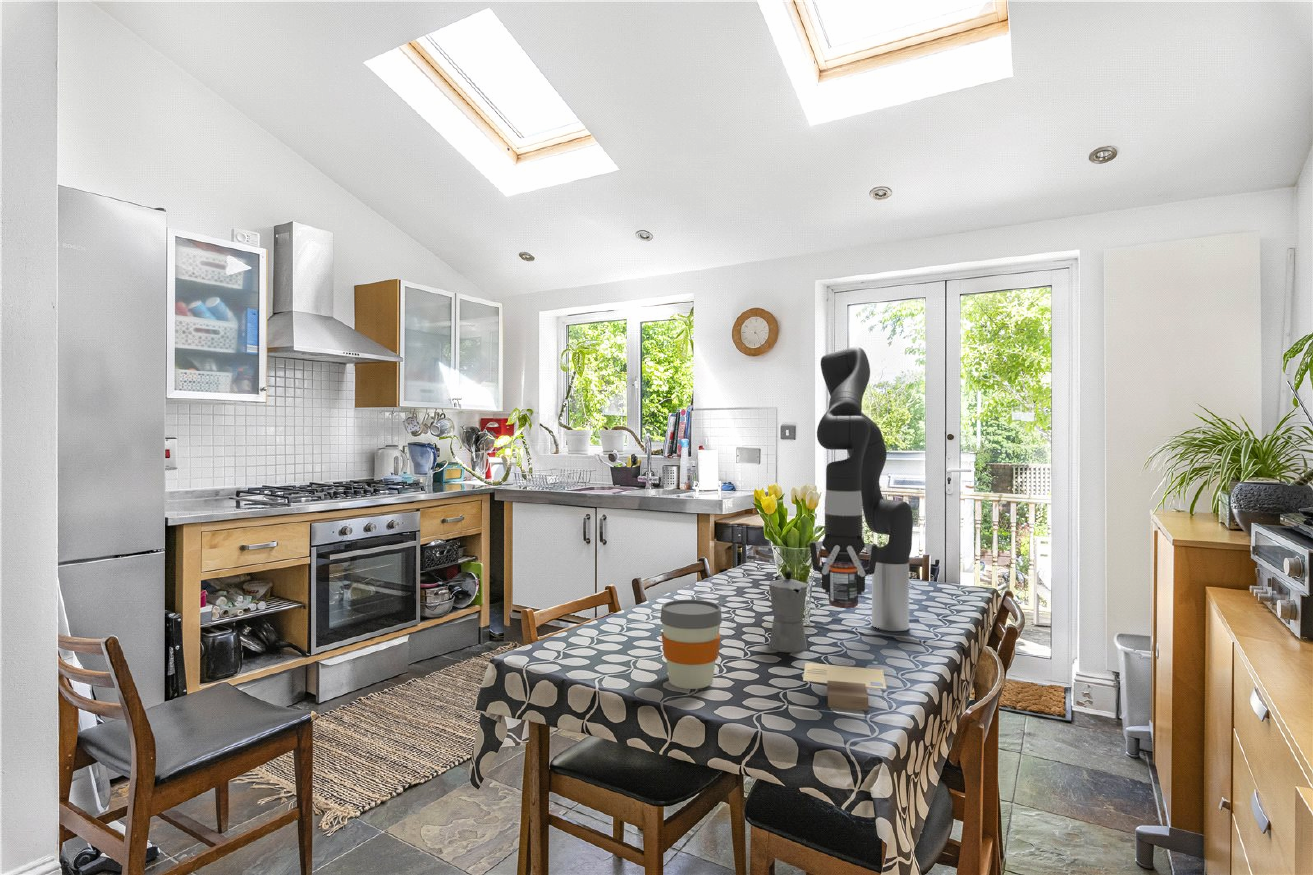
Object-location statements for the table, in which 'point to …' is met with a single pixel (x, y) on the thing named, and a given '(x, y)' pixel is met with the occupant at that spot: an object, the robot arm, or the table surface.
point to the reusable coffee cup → (691, 641)
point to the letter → (844, 675)
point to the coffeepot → (788, 614)
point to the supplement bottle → (843, 582)
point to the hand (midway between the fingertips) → (843, 592)
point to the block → (847, 695)
